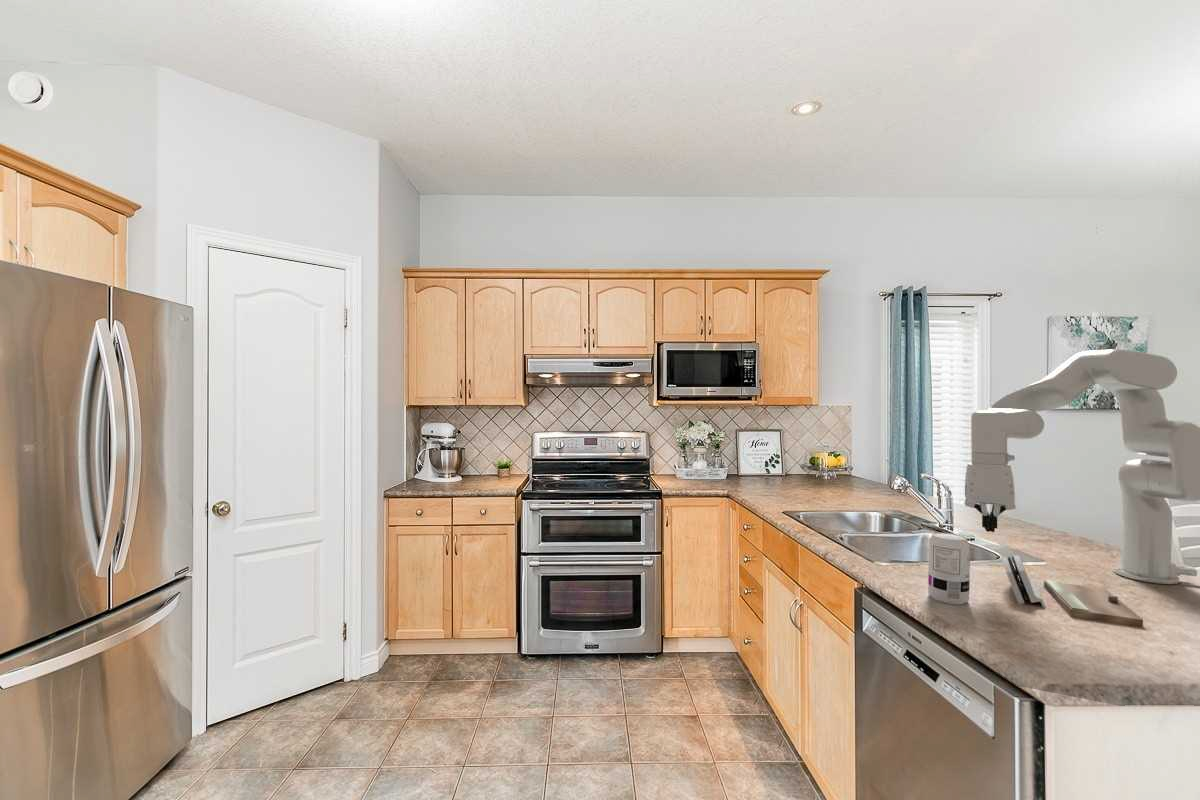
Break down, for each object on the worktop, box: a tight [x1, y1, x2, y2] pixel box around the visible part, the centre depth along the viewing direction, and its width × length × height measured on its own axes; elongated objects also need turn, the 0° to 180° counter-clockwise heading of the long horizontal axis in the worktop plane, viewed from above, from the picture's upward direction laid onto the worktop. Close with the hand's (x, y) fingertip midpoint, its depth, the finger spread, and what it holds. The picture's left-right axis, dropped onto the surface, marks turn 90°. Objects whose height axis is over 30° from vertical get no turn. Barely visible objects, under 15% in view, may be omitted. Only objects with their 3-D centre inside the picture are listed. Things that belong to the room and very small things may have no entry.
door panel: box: [1043, 580, 1144, 628], centre depth 129 cm, size 12×21×3 cm, turn 154°
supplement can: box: [927, 532, 971, 606], centre depth 132 cm, size 8×8×15 cm
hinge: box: [1002, 554, 1046, 608], centre depth 136 cm, size 17×5×10 cm, turn 147°
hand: (989, 530), depth 142 cm, fingers closed
